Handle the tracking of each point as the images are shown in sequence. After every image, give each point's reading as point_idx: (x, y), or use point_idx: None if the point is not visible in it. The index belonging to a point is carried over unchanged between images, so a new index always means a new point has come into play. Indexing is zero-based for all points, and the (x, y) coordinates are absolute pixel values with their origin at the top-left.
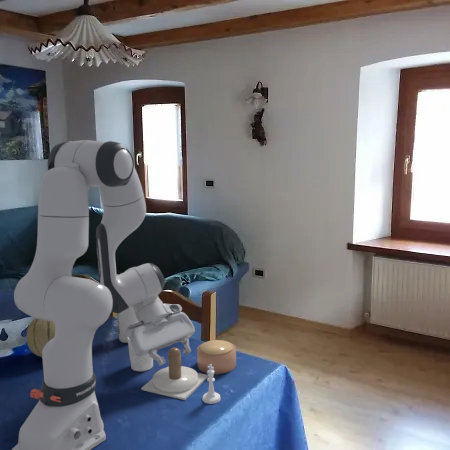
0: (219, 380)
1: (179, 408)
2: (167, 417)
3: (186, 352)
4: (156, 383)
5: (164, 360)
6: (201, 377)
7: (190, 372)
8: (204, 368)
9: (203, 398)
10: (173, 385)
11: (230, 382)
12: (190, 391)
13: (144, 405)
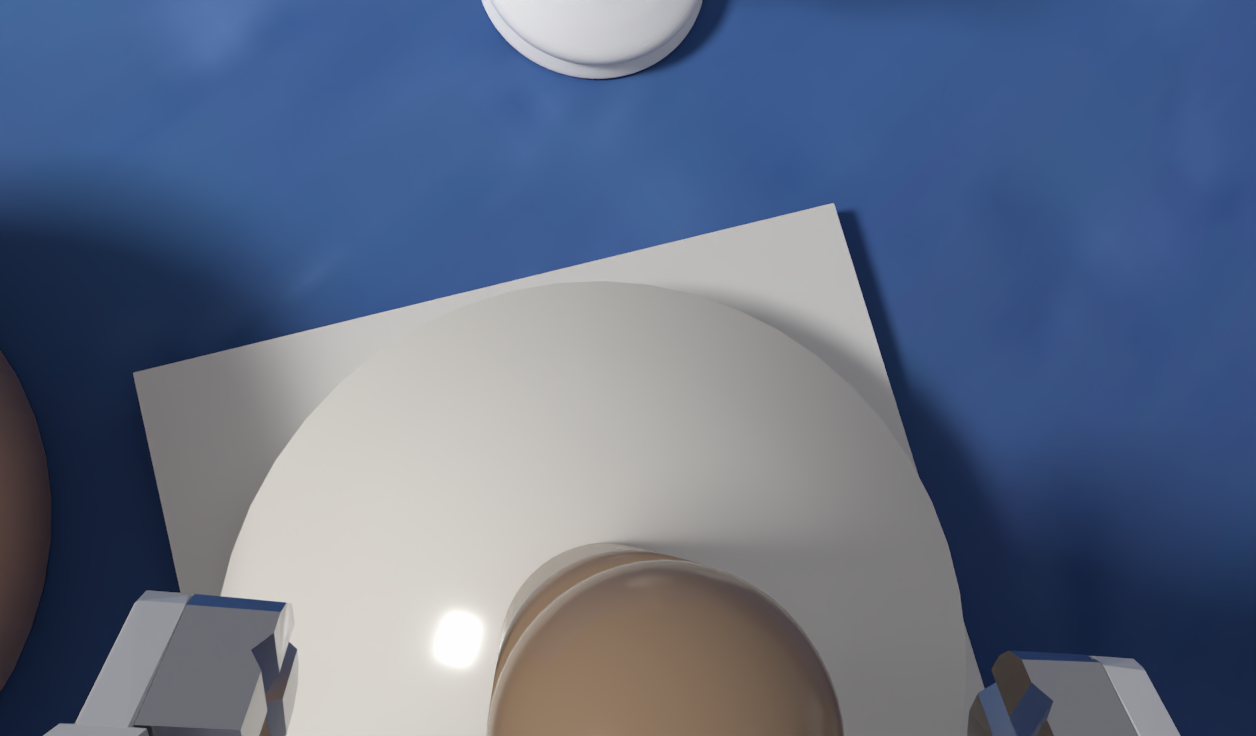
0: (132, 178)
1: (985, 143)
2: (1188, 126)
3: (287, 643)
4: (945, 717)
5: (1055, 671)
6: (258, 404)
7: (341, 548)
8: (17, 525)
9: (694, 1)
10: (818, 456)
11: (87, 20)
12: (669, 255)
13: (1223, 527)
